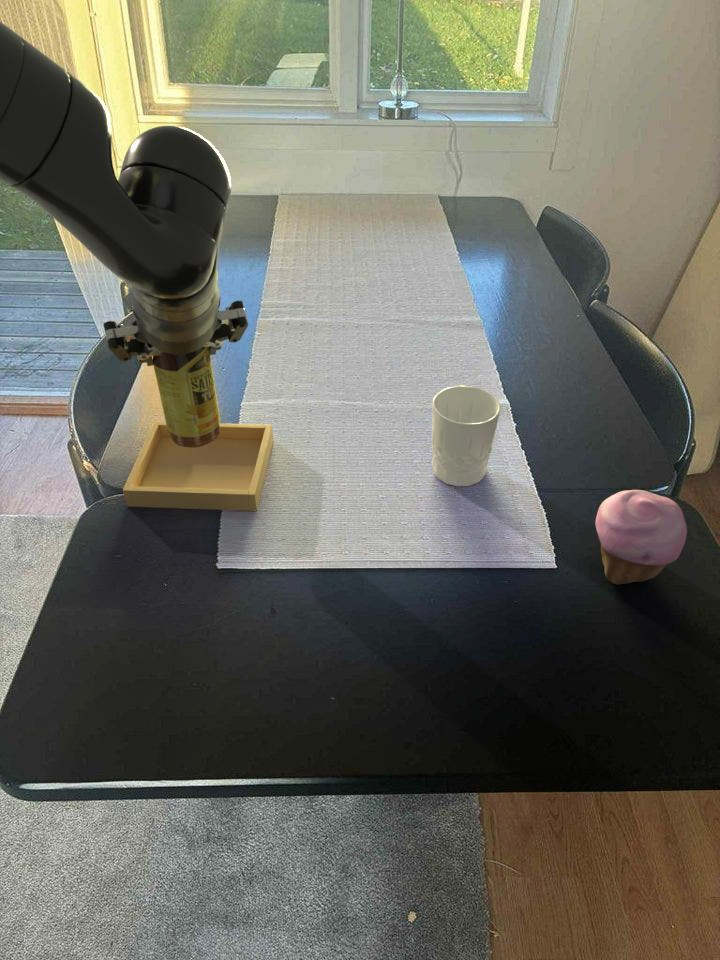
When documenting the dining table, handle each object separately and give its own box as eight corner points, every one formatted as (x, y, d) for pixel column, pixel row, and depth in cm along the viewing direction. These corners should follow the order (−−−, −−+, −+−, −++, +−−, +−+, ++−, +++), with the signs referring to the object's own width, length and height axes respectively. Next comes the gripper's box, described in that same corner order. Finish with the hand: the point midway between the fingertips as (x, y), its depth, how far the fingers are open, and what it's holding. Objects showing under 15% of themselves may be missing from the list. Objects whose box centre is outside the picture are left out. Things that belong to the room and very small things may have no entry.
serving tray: (127, 506, 83) (122, 490, 81) (157, 436, 93) (153, 421, 92) (257, 511, 83) (254, 495, 81) (273, 440, 93) (272, 424, 91)
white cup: (430, 447, 92) (436, 382, 85) (491, 453, 91) (501, 388, 84) (424, 486, 86) (429, 420, 79) (489, 493, 85) (499, 427, 78)
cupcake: (577, 539, 79) (596, 471, 72) (655, 542, 79) (682, 475, 72) (591, 600, 72) (615, 533, 66) (677, 605, 72) (709, 537, 65)
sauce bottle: (213, 453, 81) (183, 293, 68) (161, 448, 82) (122, 289, 69) (229, 420, 86) (204, 265, 73) (181, 415, 87) (147, 262, 74)
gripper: (245, 248, 64) (235, 309, 80) (82, 271, 61) (105, 330, 77) (264, 327, 64) (250, 372, 80) (101, 355, 60) (121, 396, 76)
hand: (179, 351), depth 78 cm, fingers closed on sauce bottle, 6 cm apart
